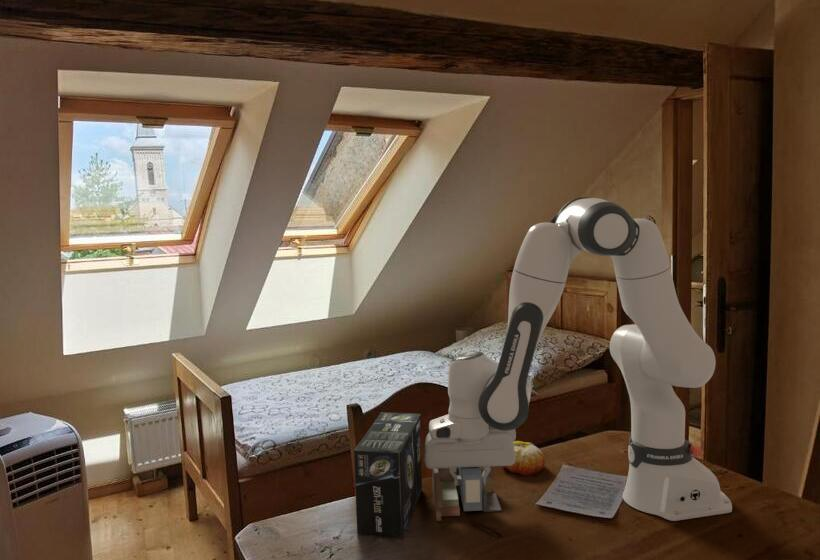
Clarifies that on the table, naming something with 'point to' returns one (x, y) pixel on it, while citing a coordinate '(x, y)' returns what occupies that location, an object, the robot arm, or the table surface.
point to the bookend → (489, 501)
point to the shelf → (451, 491)
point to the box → (388, 475)
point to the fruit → (526, 459)
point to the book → (471, 488)
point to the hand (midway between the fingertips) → (469, 484)
